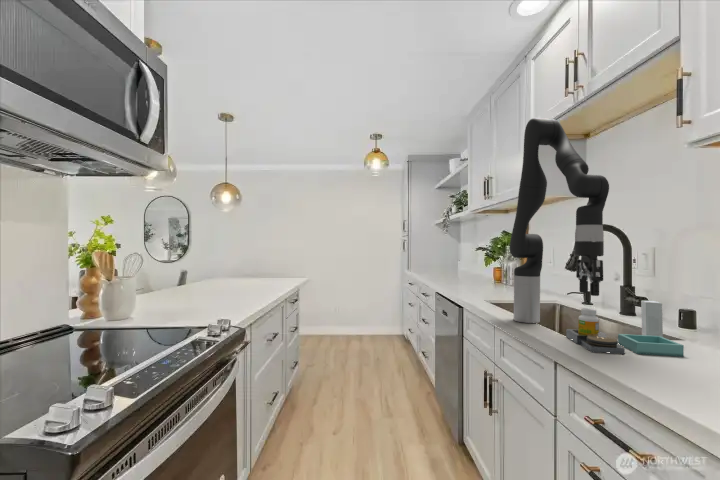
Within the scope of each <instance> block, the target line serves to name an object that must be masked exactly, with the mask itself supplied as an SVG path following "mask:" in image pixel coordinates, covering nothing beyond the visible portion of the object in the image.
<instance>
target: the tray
mask: <svg viewBox="0 0 720 480" xmlns="http://www.w3.org/2000/svg"><path fill="white" fill-rule="evenodd" d="M617 340H618V343H619V344H620V345H619V344H618V345H619V346H621V345H622V346H621V347H623V346H624V347H623V348H625V349H626V350H628V349H629V351H630V350H631V351H630V352H632V351H633V352H632V353H634V354H636V355H648V356H649V355H650V356H666V357H667V356H668V357H681V358H683V357H684V356H685V355H684V353H685V352H684V351H685V350H684V345H683V344H681V343H678V342H676V341H674V340H671V339H668V338H665V337H664V336H663V337H661V336H649V335H642V334H629V333H628V334H627V333H626V334H625V333H618V334H617Z"/></svg>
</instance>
